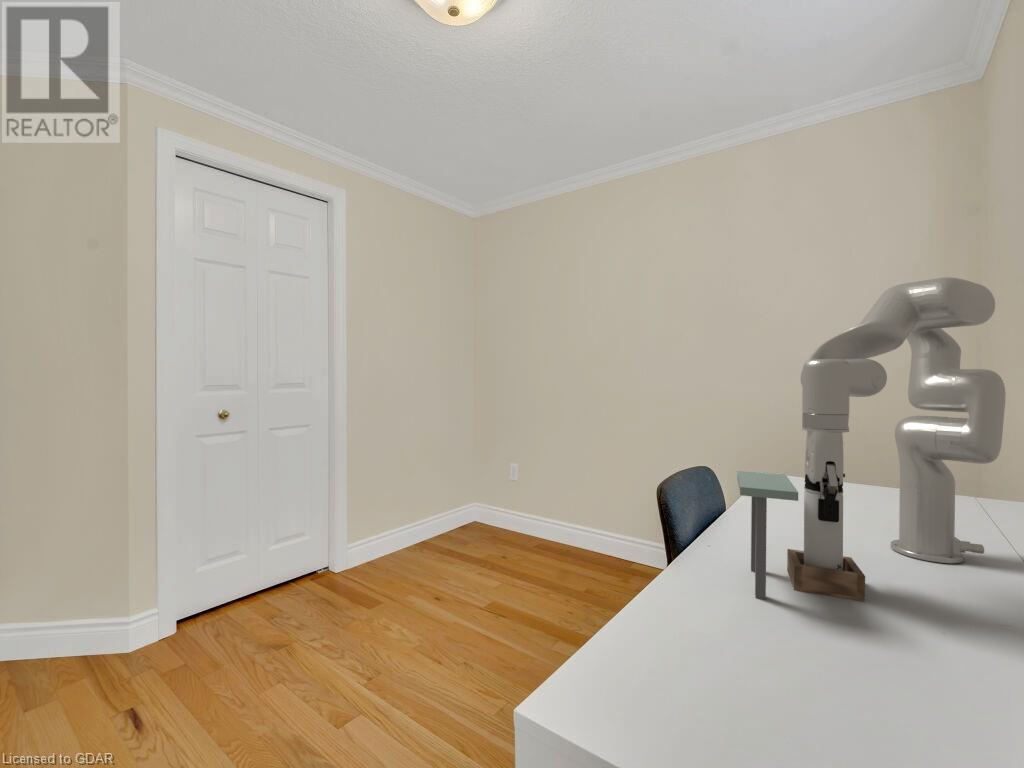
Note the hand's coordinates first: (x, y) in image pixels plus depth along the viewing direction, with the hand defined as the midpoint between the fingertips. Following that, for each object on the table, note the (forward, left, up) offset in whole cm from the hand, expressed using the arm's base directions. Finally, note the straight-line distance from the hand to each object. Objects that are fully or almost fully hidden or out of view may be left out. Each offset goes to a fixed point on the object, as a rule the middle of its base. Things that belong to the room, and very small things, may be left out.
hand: (824, 515), depth 90 cm
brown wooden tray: (0, 0, -13) cm, 13 cm away
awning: (+12, +5, -13) cm, 18 cm away
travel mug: (0, 0, -12) cm, 12 cm away
